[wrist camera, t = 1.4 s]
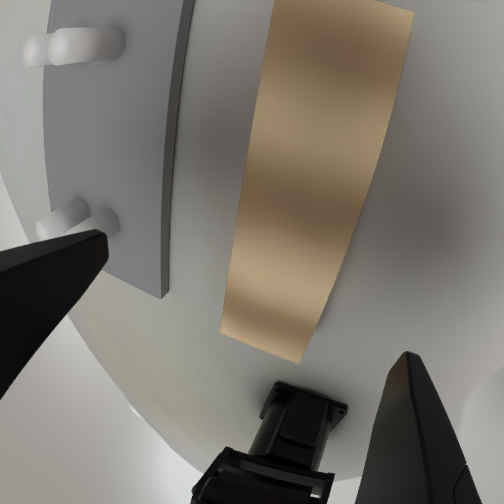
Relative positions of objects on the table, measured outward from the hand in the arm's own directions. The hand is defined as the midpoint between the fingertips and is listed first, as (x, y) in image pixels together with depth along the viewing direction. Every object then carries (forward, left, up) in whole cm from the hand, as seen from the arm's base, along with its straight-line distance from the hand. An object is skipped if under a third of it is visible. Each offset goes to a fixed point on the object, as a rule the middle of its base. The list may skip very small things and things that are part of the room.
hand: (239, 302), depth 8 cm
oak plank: (0, 0, -10) cm, 10 cm away
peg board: (0, +14, -9) cm, 17 cm away
